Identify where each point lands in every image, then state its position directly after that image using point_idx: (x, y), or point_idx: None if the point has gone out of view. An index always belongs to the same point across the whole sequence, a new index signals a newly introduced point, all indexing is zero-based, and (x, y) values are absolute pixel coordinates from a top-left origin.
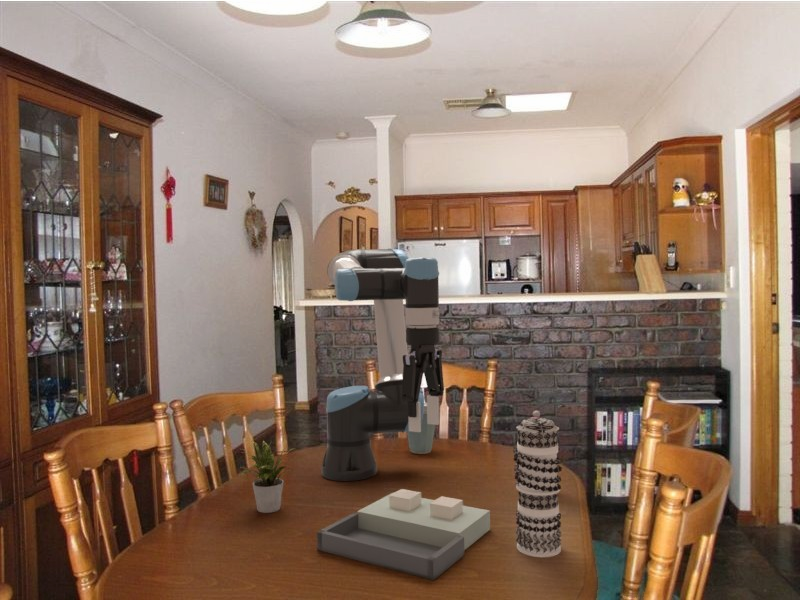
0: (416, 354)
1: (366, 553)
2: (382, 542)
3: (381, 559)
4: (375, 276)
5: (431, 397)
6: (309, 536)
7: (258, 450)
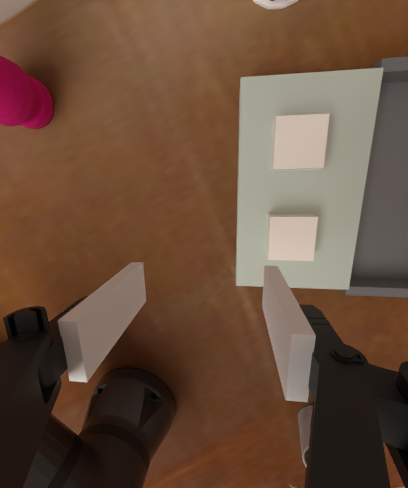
0: None
1: None
2: (376, 215)
3: None
4: None
5: (86, 350)
6: (383, 321)
7: None
